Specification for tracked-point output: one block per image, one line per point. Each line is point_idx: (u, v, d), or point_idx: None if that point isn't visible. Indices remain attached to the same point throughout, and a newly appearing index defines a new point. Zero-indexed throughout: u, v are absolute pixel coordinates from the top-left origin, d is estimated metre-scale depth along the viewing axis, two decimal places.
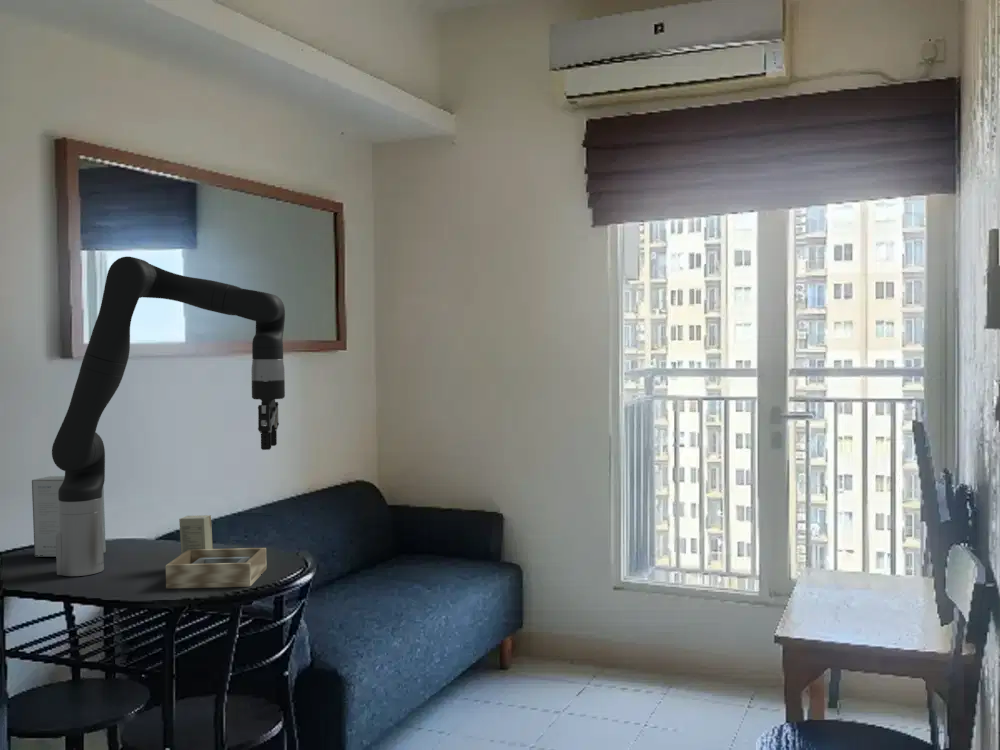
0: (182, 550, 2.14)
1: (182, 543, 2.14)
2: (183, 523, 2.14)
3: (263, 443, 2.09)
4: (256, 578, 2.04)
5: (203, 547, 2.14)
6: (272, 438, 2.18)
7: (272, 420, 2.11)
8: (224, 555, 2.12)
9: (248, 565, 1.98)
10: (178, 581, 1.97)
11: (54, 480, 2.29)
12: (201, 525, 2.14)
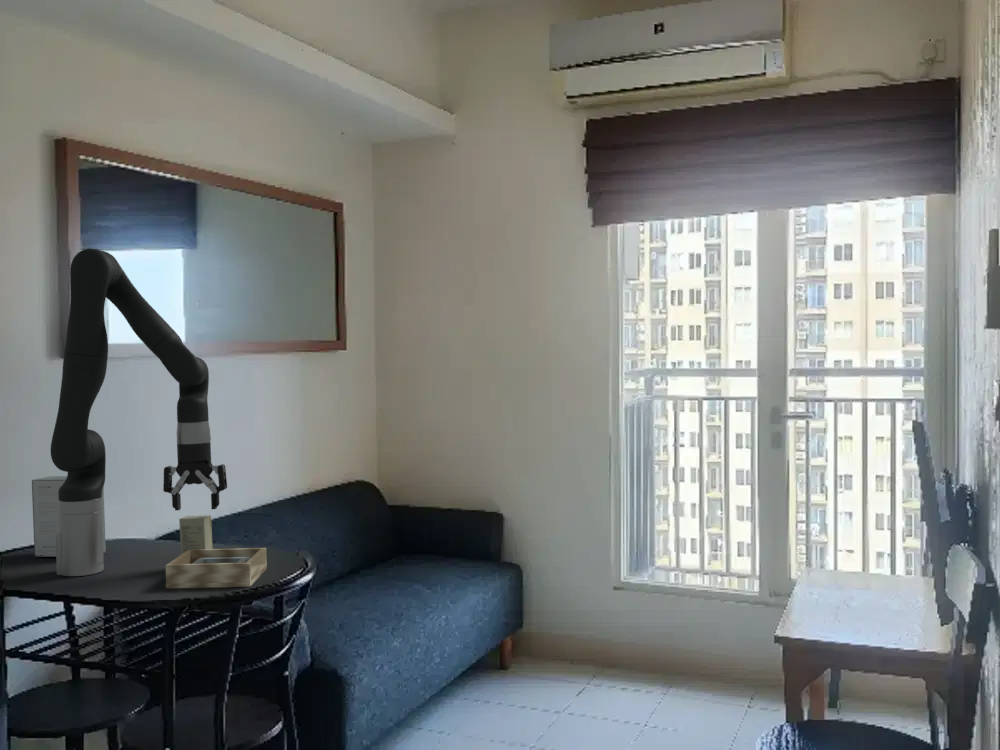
0: (182, 550, 2.14)
1: (182, 543, 2.14)
2: (183, 523, 2.14)
3: (217, 502, 2.16)
4: (256, 578, 2.04)
5: (203, 547, 2.14)
6: (179, 502, 2.16)
7: (213, 480, 2.17)
8: (224, 555, 2.12)
9: (248, 565, 1.98)
10: (178, 581, 1.97)
11: (54, 480, 2.29)
12: (200, 525, 2.14)
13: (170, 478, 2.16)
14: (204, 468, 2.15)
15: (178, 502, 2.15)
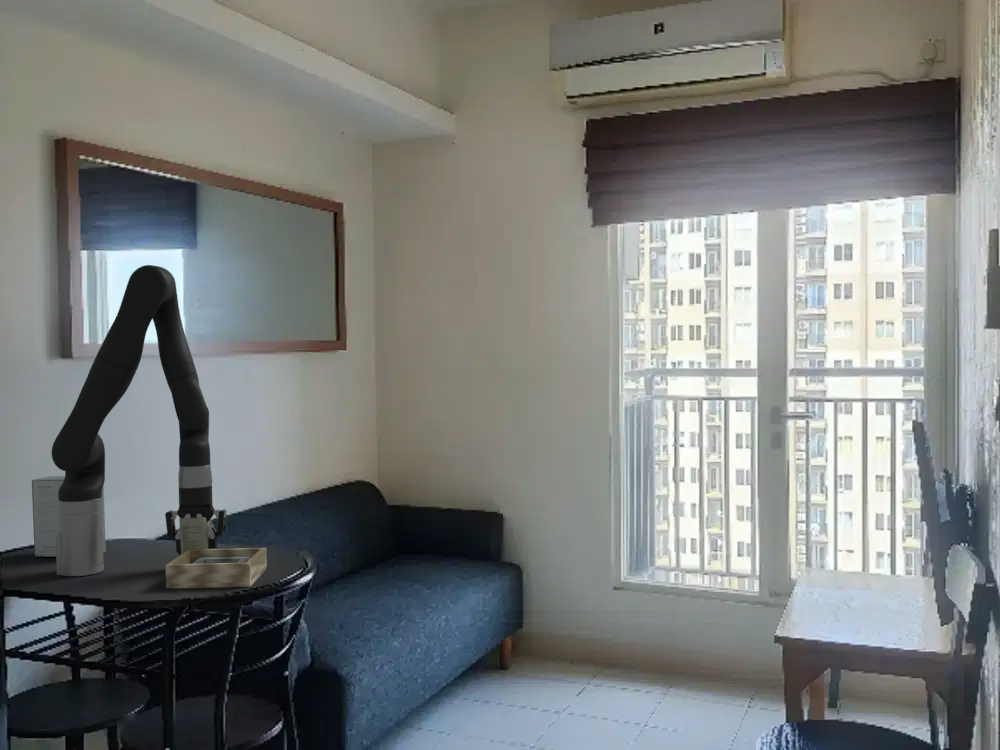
0: (182, 550, 2.14)
1: (182, 543, 2.14)
2: (183, 523, 2.14)
3: (215, 547, 2.16)
4: (256, 578, 2.04)
5: (203, 547, 2.14)
6: None
7: (212, 524, 2.18)
8: (224, 555, 2.12)
9: (248, 565, 1.98)
10: (178, 581, 1.97)
11: (54, 480, 2.29)
12: (200, 525, 2.14)
13: (173, 522, 2.16)
14: (205, 511, 2.15)
15: None
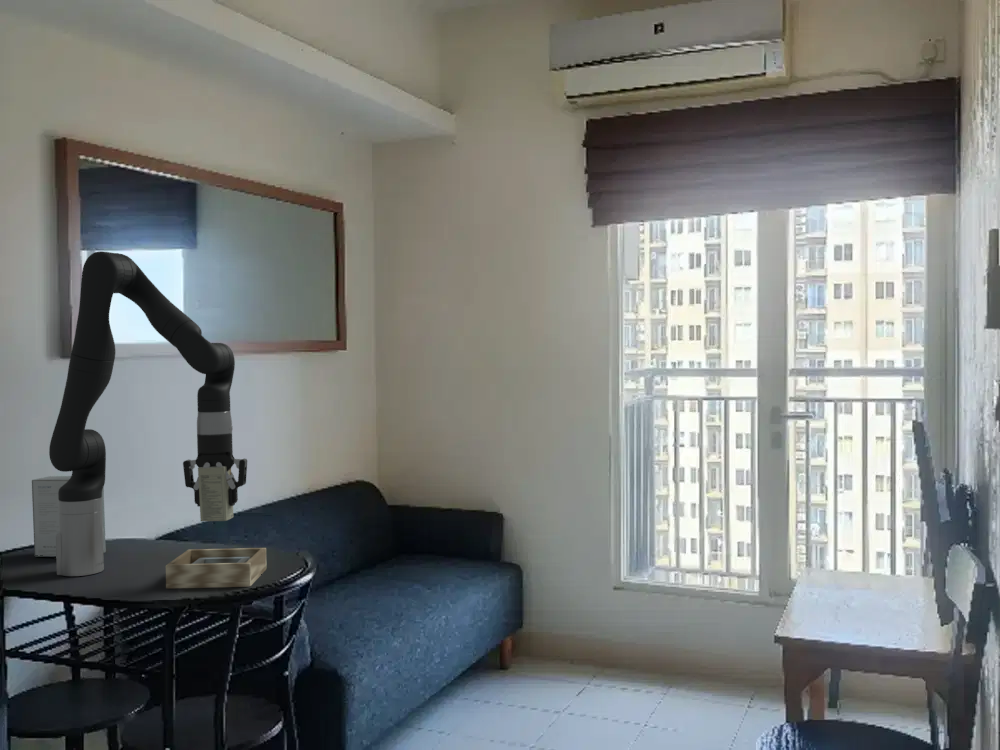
0: (201, 501, 2.03)
1: (201, 493, 2.03)
2: (202, 472, 2.03)
3: (236, 498, 2.05)
4: (256, 578, 2.04)
5: (223, 497, 2.03)
6: None
7: (232, 474, 2.07)
8: (224, 555, 2.12)
9: (248, 565, 1.98)
10: (178, 581, 1.97)
11: (54, 480, 2.29)
12: (220, 474, 2.03)
13: (191, 472, 2.05)
14: (225, 460, 2.04)
15: None
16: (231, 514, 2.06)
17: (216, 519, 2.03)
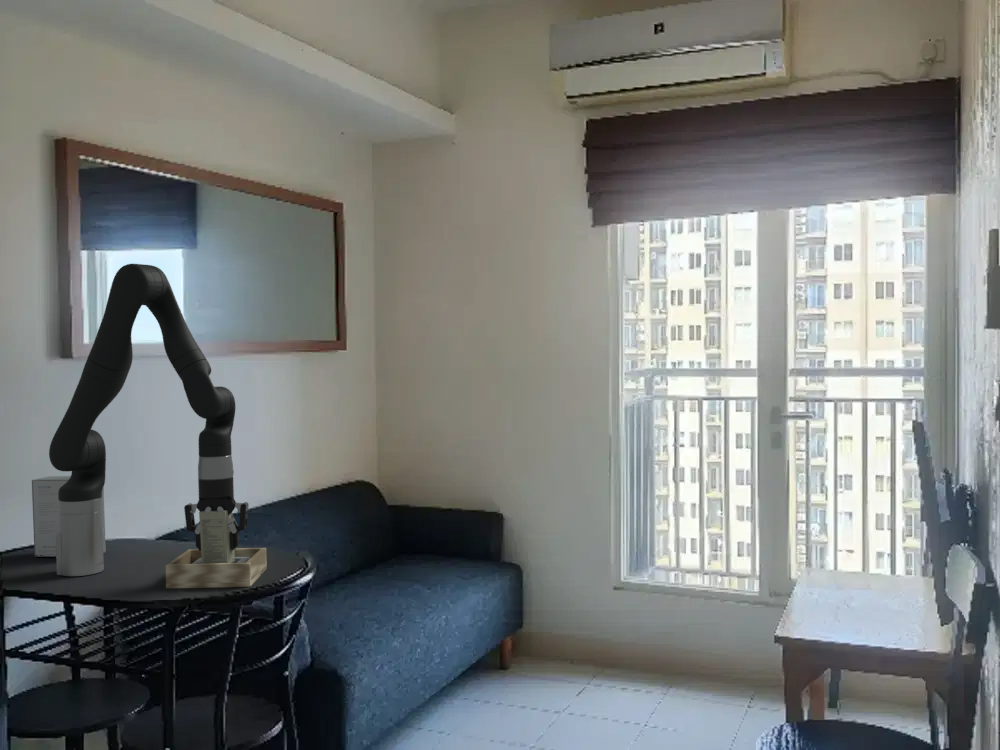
0: (202, 545, 2.04)
1: (202, 538, 2.03)
2: (203, 517, 2.03)
3: (237, 542, 2.05)
4: (256, 578, 2.04)
5: (224, 542, 2.03)
6: None
7: (233, 518, 2.07)
8: None
9: (248, 565, 1.98)
10: (178, 581, 1.97)
11: (54, 480, 2.29)
12: (222, 519, 2.03)
13: (192, 516, 2.05)
14: (227, 504, 2.04)
15: None
16: (232, 558, 2.06)
17: None
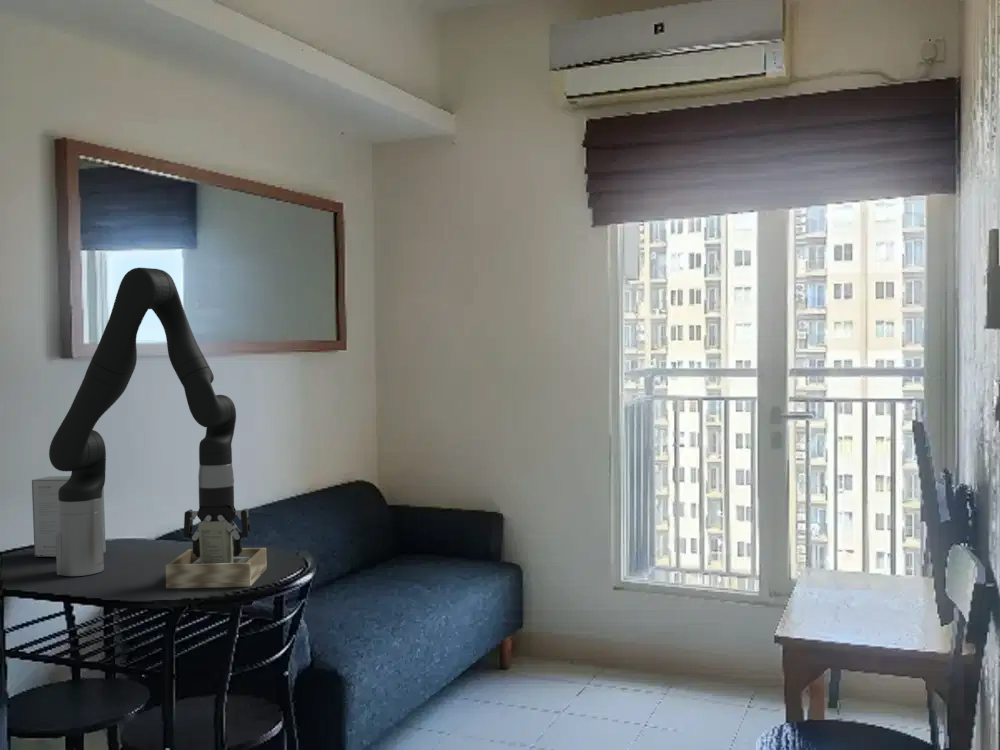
0: (201, 555, 2.04)
1: (201, 548, 2.04)
2: (203, 527, 2.03)
3: (240, 549, 2.05)
4: (256, 578, 2.04)
5: (224, 552, 2.03)
6: None
7: (235, 524, 2.07)
8: None
9: (248, 565, 1.98)
10: (178, 581, 1.97)
11: (54, 480, 2.29)
12: (221, 529, 2.03)
13: (191, 523, 2.05)
14: (227, 513, 2.04)
15: (198, 548, 2.04)
16: None
17: None
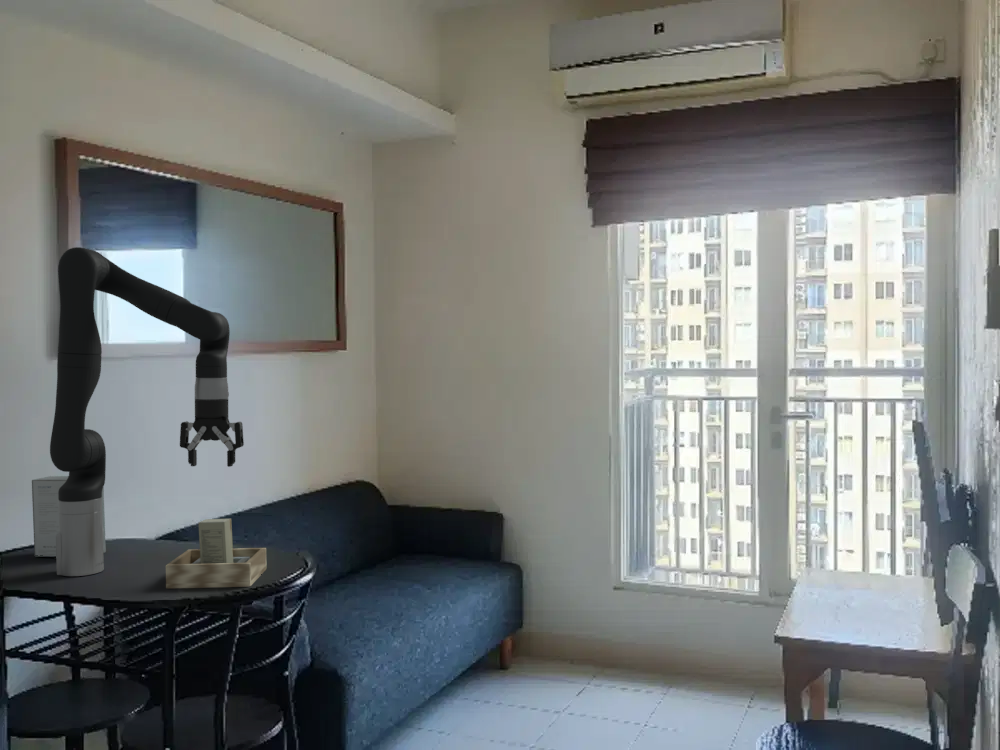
0: (201, 555, 2.04)
1: (201, 548, 2.04)
2: (203, 527, 2.03)
3: (233, 460, 2.14)
4: (256, 578, 2.04)
5: (224, 552, 2.03)
6: (195, 458, 2.14)
7: (229, 437, 2.16)
8: None
9: (248, 565, 1.98)
10: (178, 581, 1.97)
11: (54, 480, 2.29)
12: (221, 529, 2.03)
13: (187, 434, 2.14)
14: (221, 425, 2.13)
15: (193, 458, 2.13)
16: None
17: None
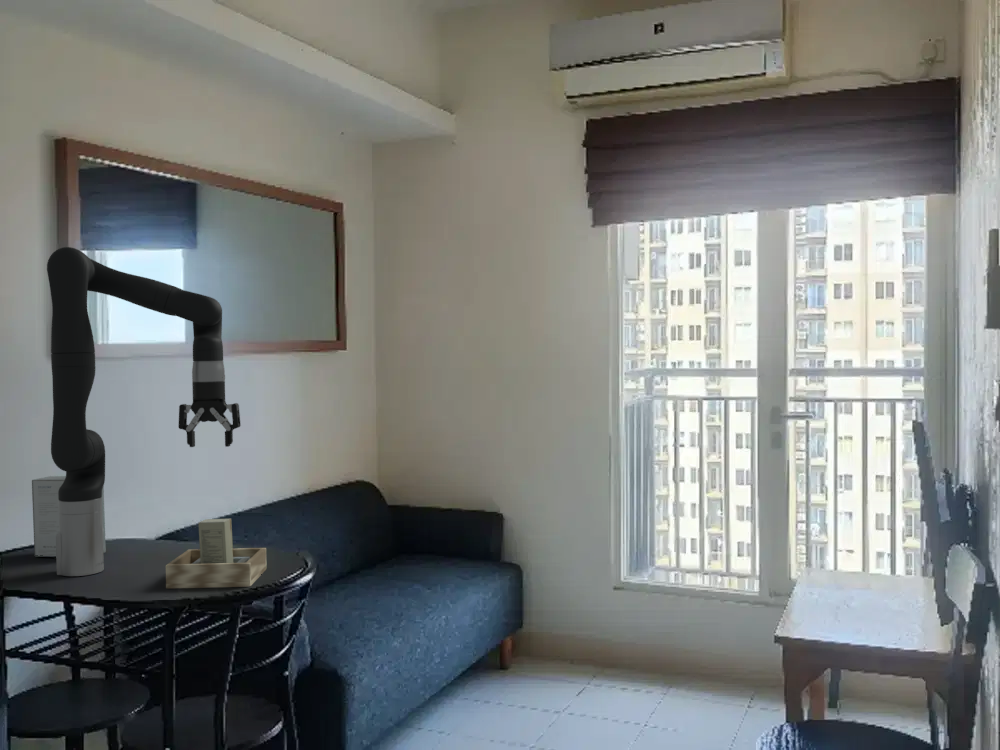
0: (201, 555, 2.04)
1: (201, 548, 2.04)
2: (203, 527, 2.03)
3: (231, 440, 2.21)
4: (256, 578, 2.04)
5: (224, 552, 2.03)
6: (193, 439, 2.22)
7: (226, 418, 2.23)
8: None
9: (248, 565, 1.98)
10: (178, 581, 1.97)
11: (54, 480, 2.29)
12: (221, 529, 2.03)
13: (185, 416, 2.21)
14: (218, 406, 2.20)
15: (192, 439, 2.21)
16: None
17: None
